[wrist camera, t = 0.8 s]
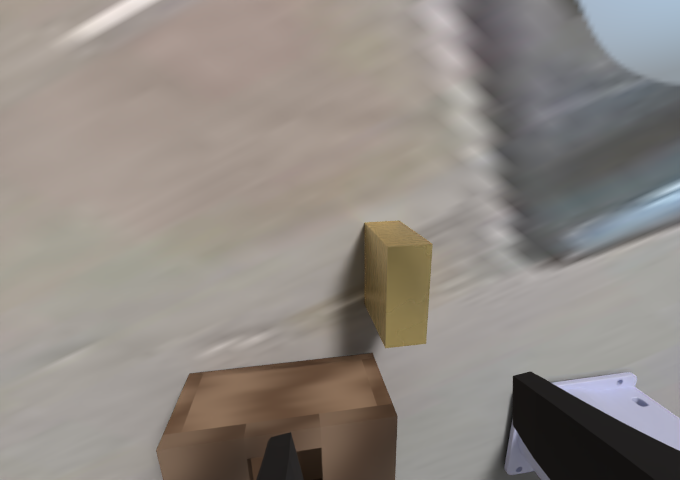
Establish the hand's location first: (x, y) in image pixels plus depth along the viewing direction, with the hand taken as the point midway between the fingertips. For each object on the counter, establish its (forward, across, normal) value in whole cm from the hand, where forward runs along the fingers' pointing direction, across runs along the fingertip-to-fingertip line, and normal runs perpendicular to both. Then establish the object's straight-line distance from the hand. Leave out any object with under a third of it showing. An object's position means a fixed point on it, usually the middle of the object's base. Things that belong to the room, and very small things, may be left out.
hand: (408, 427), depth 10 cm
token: (+10, -2, -2) cm, 10 cm away
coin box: (+10, +6, +8) cm, 14 cm away
